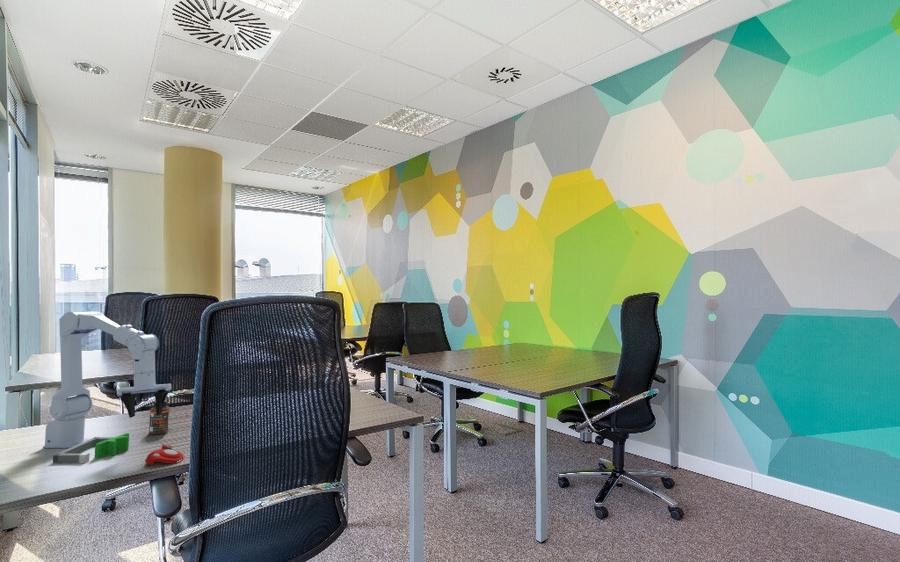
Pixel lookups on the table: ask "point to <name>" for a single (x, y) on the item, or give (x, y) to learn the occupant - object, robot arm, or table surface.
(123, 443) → the green block
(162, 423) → the supplement bottle
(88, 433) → the table surface
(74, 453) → the keeper bracket
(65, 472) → the table surface
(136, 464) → the table surface
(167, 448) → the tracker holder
